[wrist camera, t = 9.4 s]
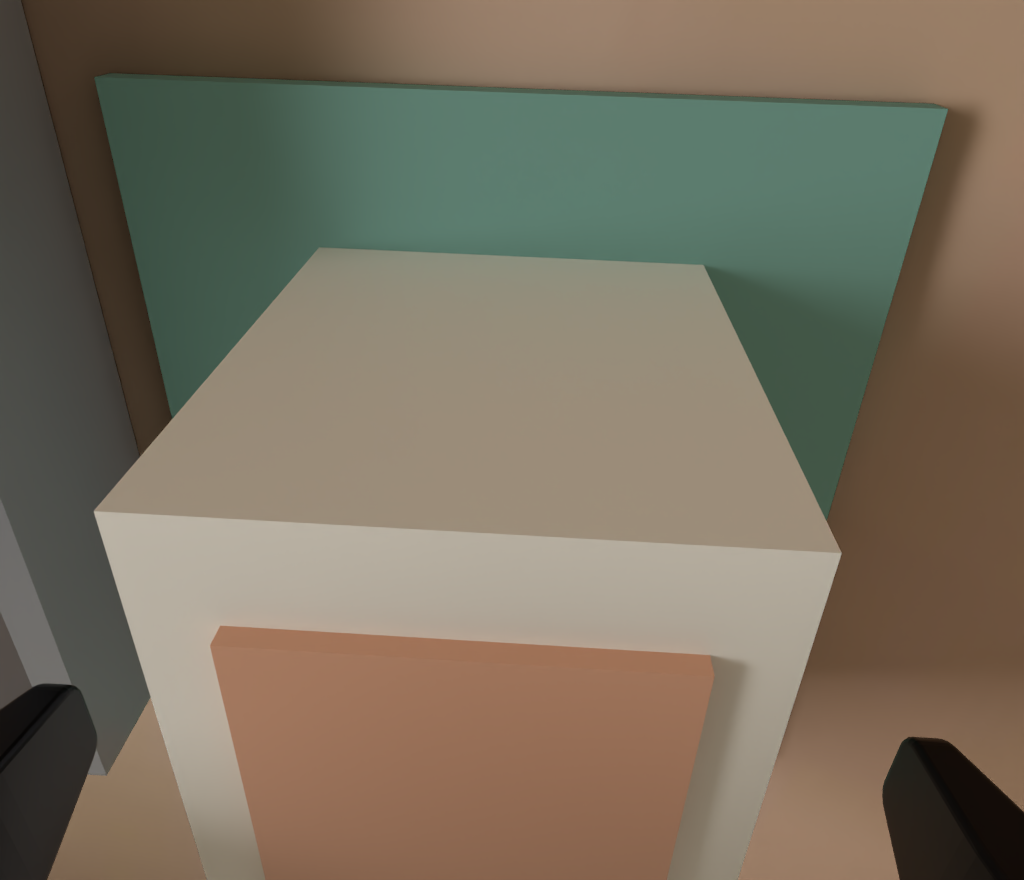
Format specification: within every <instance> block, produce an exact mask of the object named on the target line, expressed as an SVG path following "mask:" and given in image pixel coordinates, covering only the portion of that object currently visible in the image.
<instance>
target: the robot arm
mask: <svg viewBox="0 0 1024 880" xmlns="http://www.w3.org/2000/svg"><path fill="white" fill-rule="evenodd" d="M96 747H97V732H96V729H95V726H94V723H93V721H92V718H91V715H90V713H89V710H88V707H87V705H86V702H85V699H84V697H83V694H82V692H81V690H80V689H79V688H77V687H76V686H74V685H67V684H51V683H43V684H38V685H36V686H34V687H32V688H30V689H28V690H27V691H25V692H24V693H23V694H21V695H20V696H18V697H17V698H15V699H14V700H12V701H11V702H10V703H8V704H7V705H5V706H4V707H2V708H1V709H0V880H47V878H48V876H49V874H50V871H51V868H52V866H53V863H54V861H55V858H56V855H57V853H58V850H59V848H60V845H61V842H62V840H63V837H64V834H65V832H66V829H67V827H68V824H69V821H70V819H71V816H72V813H73V811H74V808H75V806H76V803H77V800H78V798H79V795H80V792H81V790H82V787H83V785H84V782H85V779H86V777H87V774H88V771H89V769H90V766H91V764H92V761H93V758H94V755H95V752H96ZM882 797H883V806H884V811H885V816H886V820H887V825H888V829H889V834H890V838H891V843H892V847H893V852H894V856H895V860H896V865H897V869H898V874H899V878H900V880H1024V812H1023V811H1022V810H1021V809H1020V808H1019V807H1018V806H1017V805H1016V804H1015V803H1014V802H1013V801H1012V800H1011V799H1010V798H1009V797H1008V796H1006V795H1005V794H1004V793H1003V792H1002V791H1001V790H1000V789H999V788H998V787H997V786H996V785H995V784H994V783H993V782H992V781H991V780H990V779H989V778H987V777H986V776H985V775H984V774H983V773H982V772H981V771H980V770H979V769H978V768H977V767H976V766H975V765H974V764H973V763H972V762H971V761H970V760H969V759H967V758H966V757H965V756H964V755H963V754H962V753H961V752H960V751H959V750H958V749H957V748H956V747H955V746H953V745H952V744H951V743H949V742H948V741H945V740H943V739H938V738H922V737H908V738H907V739H905V740H904V741H903V742H902V743H901V745H900V747H899V749H898V752H897V754H896V756H895V759H894V761H893V763H892V765H891V768H890V770H889V772H888V774H887V777H886V779H885V782H884V785H883V794H882Z"/></svg>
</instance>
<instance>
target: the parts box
mask: <svg viewBox="0 0 1024 880" xmlns="http://www.w3.org/2000/svg"><path fill="white" fill-rule="evenodd" d="M94 514H95V518H96V521H97V524H98V527H99V531H100V534H101V537H102V540H103V544H104V547H105V550H106V553H107V557H108V560H109V563H110V566H111V570H112V573H113V576H114V579H115V583H116V586H117V589H118V592H119V596H120V599H121V602H122V605H123V609H124V612H125V615H126V618H127V622H128V625H129V628H130V631H131V635H132V638H133V641H134V644H135V648H136V651H137V654H138V657H139V661H140V664H141V667H142V671H143V674H144V677H145V680H146V684H147V687H148V690H149V693H150V697H151V700H152V703H153V706H154V710H155V713H156V716H157V719H158V723H159V726H160V729H161V732H162V736H163V739H164V742H165V745H166V749H167V752H168V755H169V758H170V762H171V765H172V768H173V771H174V775H175V778H176V781H177V784H178V788H179V791H180V794H181V797H182V801H183V804H184V807H185V810H186V814H187V817H188V820H189V823H190V827H191V830H192V833H193V836H194V840H195V843H196V846H197V849H198V853H199V856H200V859H201V862H202V866H203V869H204V872H205V875H206V879H207V880H738V877H739V874H740V871H741V867H742V864H743V861H744V858H745V855H746V852H747V849H748V846H749V842H750V839H751V836H752V833H753V830H754V827H755V824H756V820H757V817H758V814H759V811H760V808H761V805H762V802H763V799H764V795H765V792H766V789H767V786H768V783H769V780H770V777H771V773H772V770H773V767H774V764H775V761H776V758H777V755H778V752H779V748H780V745H781V742H782V739H783V736H784V733H785V730H786V726H787V723H788V720H789V717H790V714H791V711H792V708H793V705H794V701H795V698H796V695H797V692H798V689H799V686H800V683H801V679H802V676H803V673H804V670H805V667H806V664H807V661H808V658H809V654H810V651H811V648H812V645H813V642H814V639H815V636H816V632H817V629H818V626H819V623H820V620H821V617H822V614H823V611H824V607H825V604H826V601H827V598H828V595H829V592H830V589H831V585H832V582H833V579H834V576H835V573H836V570H837V567H838V564H839V560H840V557H841V554H842V553H841V551H840V549H839V546H838V544H837V542H836V540H835V538H834V536H833V534H832V532H831V530H830V528H829V526H828V524H827V521H826V519H825V517H824V515H823V513H822V511H821V509H820V507H819V505H818V503H817V501H816V499H815V496H814V494H813V492H812V490H811V488H810V486H809V484H808V482H807V480H806V478H805V476H804V473H803V471H802V469H801V467H800V465H799V463H798V461H797V459H796V457H795V455H794V453H793V451H792V448H791V446H790V444H789V442H788V440H787V438H786V436H785V434H784V432H783V430H782V428H781V426H780V423H779V421H778V419H777V417H776V415H775V413H774V411H773V409H772V407H771V405H770V403H769V401H768V398H767V396H766V394H765V392H764V390H763V388H762V386H761V384H760V382H759V380H758V378H757V376H756V373H755V371H754V369H753V367H752V365H751V363H750V361H749V359H748V357H747V355H746V353H745V351H744V348H743V346H742V344H741V342H740V340H739V338H738V336H737V334H736V332H735V330H734V328H733V326H732V323H731V321H730V319H729V317H728V315H727V313H726V311H725V309H724V307H723V305H722V303H721V301H720V298H719V296H718V294H717V292H716V290H715V288H714V286H713V284H712V282H711V280H710V278H709V276H708V273H707V271H706V269H705V267H704V265H694V264H672V263H650V262H628V261H606V260H585V259H563V258H541V257H519V256H497V255H475V254H453V253H432V252H410V251H388V250H366V249H344V248H322V247H319V248H318V249H317V251H316V252H315V253H314V254H313V255H312V256H311V258H310V259H309V260H308V261H307V262H306V263H305V265H304V266H303V267H302V268H301V269H300V270H299V272H298V273H297V274H296V275H295V276H294V277H293V279H292V280H291V281H290V282H289V283H288V284H287V286H286V287H285V288H284V289H283V290H282V291H281V293H280V294H279V295H278V296H277V297H276V298H275V300H274V301H273V302H272V303H271V304H270V305H269V307H268V308H267V309H266V310H265V311H264V313H263V314H262V315H261V316H260V317H259V318H258V320H257V321H256V322H255V323H254V324H253V325H252V327H251V328H250V329H249V330H248V331H247V332H246V334H245V335H244V336H243V337H242V338H241V339H240V341H239V342H238V343H237V344H236V345H235V346H234V348H233V349H232V350H231V351H230V352H229V353H228V355H227V356H226V357H225V358H224V359H223V360H222V362H221V363H220V364H219V365H218V366H217V367H216V369H215V370H214V371H213V372H212V373H211V374H210V376H209V377H208V378H207V379H206V380H205V381H204V383H203V384H202V385H201V386H200V387H199V388H198V390H197V391H196V392H195V393H194V394H193V395H192V397H191V398H190V399H189V400H188V401H187V403H186V404H185V405H184V406H183V407H182V408H181V410H180V411H179V412H178V413H177V414H176V415H175V417H174V418H173V419H172V420H171V421H170V422H169V424H168V425H167V426H166V427H165V428H164V429H163V431H162V432H161V433H160V434H159V435H158V436H157V438H156V439H155V440H154V441H153V442H152V443H151V445H150V446H149V447H148V448H147V449H146V450H145V452H144V453H143V454H142V455H141V456H140V457H139V459H138V460H137V461H136V462H135V463H134V464H133V466H132V467H131V468H130V469H129V470H128V471H127V473H126V474H125V475H124V476H123V477H122V478H121V480H120V481H119V482H118V483H117V484H116V486H115V487H114V488H113V489H112V490H111V491H110V493H109V494H108V495H107V496H106V497H105V498H104V500H103V501H102V502H101V503H100V504H99V505H98V507H97V508H96V509H95V510H94Z"/></svg>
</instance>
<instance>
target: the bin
mask: <svg viewBox="0 0 1024 880" xmlns="http://www.w3.org/2000/svg"><path fill="white" fill-rule="evenodd" d="M139 457H140V456H139V452H138V448H137V445H136V441H135V437H134V433H133V429H132V425H131V422H130V418H129V414H128V410H127V406H126V402H125V398H124V395H123V391H122V387H121V383H120V379H119V375H118V372H117V368H116V364H115V360H114V356H113V352H112V349H111V345H110V341H109V337H108V333H107V329H106V326H105V322H104V318H103V314H102V310H101V306H100V302H99V299H98V295H97V291H96V287H95V283H94V279H93V276H92V272H91V268H90V264H89V260H88V256H87V253H86V249H85V245H84V241H83V237H82V233H81V229H80V226H79V222H78V218H77V214H76V210H75V206H74V203H73V199H72V195H71V191H70V187H69V183H68V180H67V176H66V172H65V168H64V164H63V160H62V156H61V153H60V149H59V145H58V141H57V137H56V133H55V130H54V126H53V122H52V118H51V114H50V110H49V107H48V103H47V99H46V95H45V91H44V87H43V84H42V80H41V76H40V72H39V68H38V64H37V60H36V57H35V53H34V49H33V45H32V41H31V37H30V34H29V30H28V26H27V22H26V18H25V14H24V11H23V7H22V3H21V0H0V709H1V708H2V707H4V706H5V705H7V704H8V703H10V702H11V701H12V700H14V699H15V698H17V697H18V696H20V695H21V694H23V693H24V692H25V691H27V690H28V689H30V688H32V687H34V686H36V685H38V684H43V683H51V684H67V685H74V686H76V687H77V688H79V689H80V690H81V692H82V694H83V697H84V699H85V702H86V705H87V707H88V710H89V713H90V715H91V718H92V721H93V723H94V726H95V729H96V732H97V747H96V752H95V755H94V758H93V761H92V764H91V766H90V769H89V771H88V774H90V775H105V776H107V774H108V772H109V770H110V769H111V767H112V765H113V763H114V761H115V760H116V758H117V756H118V754H119V752H120V751H121V749H122V747H123V745H124V744H125V742H126V740H127V738H128V736H129V735H130V733H131V731H132V729H133V727H134V726H135V724H136V722H137V720H138V719H139V717H140V715H141V713H142V711H143V710H144V708H145V706H146V704H147V702H148V701H149V699H150V693H149V690H148V687H147V684H146V680H145V677H144V674H143V671H142V667H141V664H140V661H139V657H138V654H137V651H136V648H135V644H134V641H133V638H132V635H131V631H130V628H129V625H128V622H127V618H126V615H125V612H124V609H123V605H122V602H121V599H120V596H119V592H118V589H117V586H116V583H115V579H114V576H113V573H112V570H111V566H110V563H109V560H108V557H107V553H106V550H105V547H104V544H103V540H102V537H101V534H100V531H99V527H98V524H97V521H96V518H95V514H94V510H95V509H96V508H97V507H98V505H99V504H100V503H101V502H102V501H103V500H104V498H105V497H106V496H107V495H108V494H109V493H110V491H111V490H112V489H113V488H114V487H115V486H116V484H117V483H118V482H119V481H120V480H121V478H122V477H123V476H124V475H125V474H126V473H127V471H128V470H129V469H130V468H131V467H132V466H133V464H134V463H135V462H136V461H137V460H138V459H139Z"/></svg>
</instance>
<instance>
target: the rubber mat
mask: <svg viewBox="0 0 1024 880" xmlns="http://www.w3.org/2000/svg"><path fill="white" fill-rule="evenodd" d="M94 79H95V83H96V87H97V92H98V96H99V100H100V105H101V109H102V114H103V118H104V122H105V127H106V131H107V136H108V140H109V144H110V149H111V153H112V157H113V162H114V166H115V171H116V175H117V179H118V184H119V188H120V193H121V197H122V201H123V206H124V210H125V215H126V219H127V223H128V228H129V232H130V236H131V241H132V245H133V250H134V254H135V258H136V263H137V267H138V272H139V276H140V280H141V285H142V289H143V293H144V298H145V302H146V307H147V311H148V315H149V320H150V324H151V329H152V333H153V337H154V342H155V346H156V350H157V355H158V359H159V364H160V368H161V372H162V377H163V381H164V386H165V390H166V394H167V399H168V403H169V407H170V412H171V416H172V419H173V418H174V417H175V415H176V414H177V413H178V412H179V411H180V410H181V408H182V407H183V406H184V405H185V404H186V403H187V401H188V400H189V399H190V398H191V397H192V395H193V394H194V393H195V392H196V391H197V390H198V388H199V387H200V386H201V385H202V384H203V383H204V381H205V380H206V379H207V378H208V377H209V376H210V374H211V373H212V372H213V371H214V370H215V369H216V367H217V366H218V365H219V364H220V363H221V362H222V360H223V359H224V358H225V357H226V356H227V355H228V353H229V352H230V351H231V350H232V349H233V348H234V346H235V345H236V344H237V343H238V342H239V341H240V339H241V338H242V337H243V336H244V335H245V334H246V332H247V331H248V330H249V329H250V328H251V327H252V325H253V324H254V323H255V322H256V321H257V320H258V318H259V317H260V316H261V315H262V314H263V313H264V311H265V310H266V309H267V308H268V307H269V305H270V304H271V303H272V302H273V301H274V300H275V298H276V297H277V296H278V295H279V294H280V293H281V291H282V290H283V289H284V288H285V287H286V286H287V284H288V283H289V282H290V281H291V280H292V279H293V277H294V276H295V275H296V274H297V273H298V272H299V270H300V269H301V268H302V267H303V266H304V265H305V263H306V262H307V261H308V260H309V259H310V258H311V256H312V255H313V254H314V253H315V252H316V251H317V249H318V248H319V247H322V248H344V249H366V250H388V251H410V252H432V253H453V254H475V255H497V256H519V257H541V258H563V259H585V260H606V261H628V262H650V263H672V264H694V265H704V267H705V269H706V271H707V273H708V276H709V278H710V280H711V282H712V284H713V286H714V288H715V290H716V292H717V294H718V296H719V298H720V301H721V303H722V305H723V307H724V309H725V311H726V313H727V315H728V317H729V319H730V321H731V323H732V326H733V328H734V330H735V332H736V334H737V336H738V338H739V340H740V342H741V344H742V346H743V348H744V351H745V353H746V355H747V357H748V359H749V361H750V363H751V365H752V367H753V369H754V371H755V373H756V376H757V378H758V380H759V382H760V384H761V386H762V388H763V390H764V392H765V394H766V396H767V398H768V401H769V403H770V405H771V407H772V409H773V411H774V413H775V415H776V417H777V419H778V421H779V423H780V426H781V428H782V430H783V432H784V434H785V436H786V438H787V440H788V442H789V444H790V446H791V448H792V451H793V453H794V455H795V457H796V459H797V461H798V463H799V465H800V467H801V469H802V471H803V473H804V476H805V478H806V480H807V482H808V484H809V486H810V488H811V490H812V492H813V494H814V496H815V499H816V501H817V503H818V505H819V507H820V509H821V511H822V513H823V515H824V517H825V519H826V521H827V518H828V514H829V511H830V508H831V504H832V501H833V498H834V494H835V491H836V487H837V484H838V481H839V477H840V474H841V470H842V467H843V464H844V460H845V457H846V454H847V450H848V447H849V443H850V440H851V437H852V433H853V430H854V426H855V423H856V420H857V416H858V413H859V409H860V406H861V403H862V399H863V396H864V393H865V389H866V386H867V382H868V379H869V376H870V372H871V369H872V365H873V362H874V359H875V355H876V352H877V349H878V345H879V342H880V338H881V335H882V332H883V328H884V325H885V321H886V318H887V315H888V311H889V308H890V305H891V301H892V298H893V294H894V291H895V288H896V284H897V281H898V277H899V274H900V271H901V267H902V264H903V260H904V257H905V254H906V250H907V247H908V244H909V240H910V237H911V233H912V230H913V227H914V223H915V220H916V216H917V213H918V210H919V206H920V203H921V200H922V196H923V193H924V189H925V186H926V183H927V179H928V176H929V172H930V169H931V166H932V162H933V159H934V156H935V152H936V149H937V145H938V142H939V139H940V135H941V132H942V128H943V125H944V122H945V118H946V115H947V111H948V109H947V108H944V107H941V106H939V105H936V104H927V103H900V102H873V101H846V100H819V99H792V98H765V97H738V96H711V95H684V94H657V93H630V92H604V91H577V90H550V89H523V88H496V87H469V86H442V85H415V84H388V83H361V82H334V81H307V80H280V79H254V78H227V77H200V76H173V75H146V74H119V73H109V74H105V75H101V76H97V77H94Z"/></svg>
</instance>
